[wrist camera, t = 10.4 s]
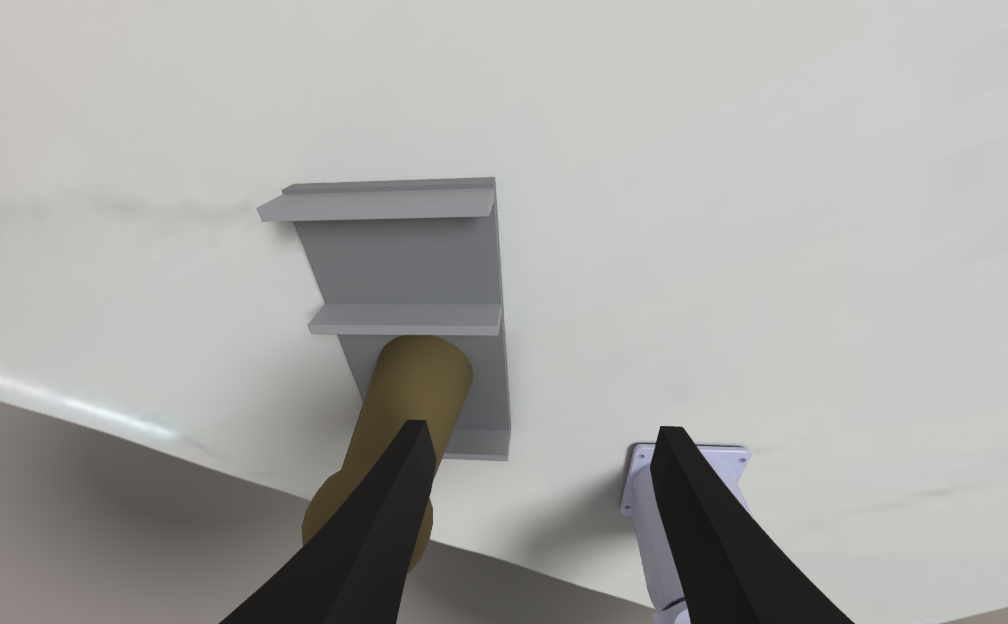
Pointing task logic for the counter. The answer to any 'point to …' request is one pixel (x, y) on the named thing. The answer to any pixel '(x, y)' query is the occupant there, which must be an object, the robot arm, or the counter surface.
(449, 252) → the rack
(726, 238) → the counter surface
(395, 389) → the cork
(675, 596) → the robot arm
